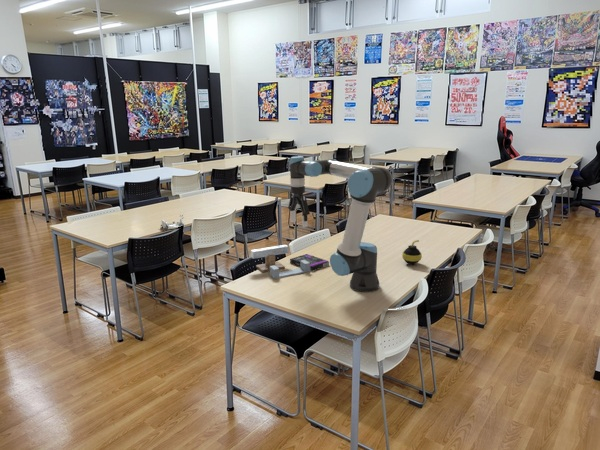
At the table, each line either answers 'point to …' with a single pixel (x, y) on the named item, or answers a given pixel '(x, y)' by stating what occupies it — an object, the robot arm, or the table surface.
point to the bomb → (412, 254)
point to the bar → (269, 251)
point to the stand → (269, 264)
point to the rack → (303, 269)
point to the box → (310, 261)
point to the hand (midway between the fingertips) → (299, 224)
